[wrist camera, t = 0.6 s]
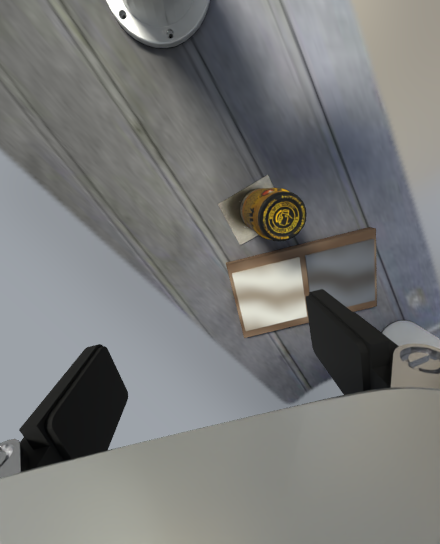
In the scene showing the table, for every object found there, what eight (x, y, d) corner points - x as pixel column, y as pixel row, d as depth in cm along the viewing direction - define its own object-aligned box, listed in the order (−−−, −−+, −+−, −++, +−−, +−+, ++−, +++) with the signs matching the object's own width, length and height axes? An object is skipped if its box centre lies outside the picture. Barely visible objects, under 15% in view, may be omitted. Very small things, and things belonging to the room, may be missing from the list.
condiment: (287, 218, 36) (324, 230, 25) (240, 244, 37) (255, 267, 26) (267, 174, 34) (298, 165, 23) (217, 204, 35) (223, 209, 24)
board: (225, 262, 38) (226, 266, 36) (369, 227, 38) (377, 228, 36) (243, 333, 43) (244, 339, 41) (371, 302, 42) (377, 306, 40)
